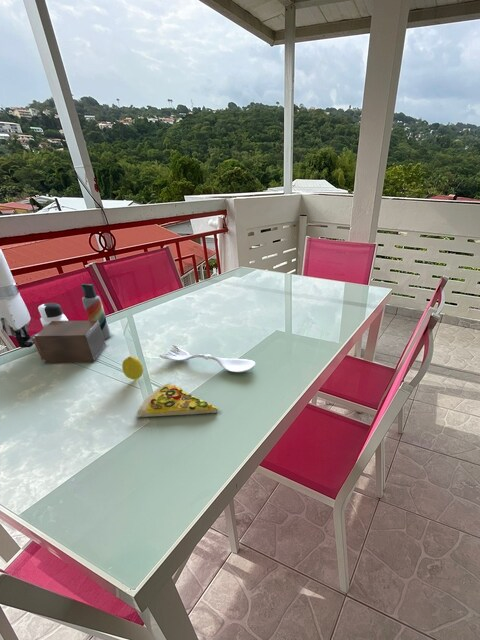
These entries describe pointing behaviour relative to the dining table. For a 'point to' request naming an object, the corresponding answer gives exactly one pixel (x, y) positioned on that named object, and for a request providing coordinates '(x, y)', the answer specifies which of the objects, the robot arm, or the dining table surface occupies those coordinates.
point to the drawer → (33, 341)
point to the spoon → (227, 364)
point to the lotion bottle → (95, 308)
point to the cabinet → (71, 341)
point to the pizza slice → (173, 403)
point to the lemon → (132, 368)
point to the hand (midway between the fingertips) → (26, 346)
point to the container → (51, 313)
